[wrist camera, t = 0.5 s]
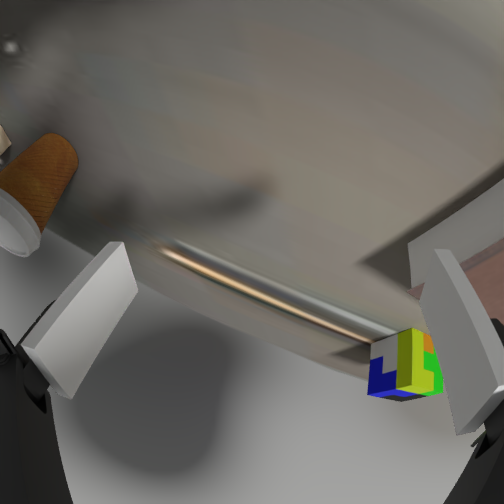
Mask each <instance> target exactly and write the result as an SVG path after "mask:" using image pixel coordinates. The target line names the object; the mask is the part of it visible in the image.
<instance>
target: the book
mask: <svg viewBox="0 0 504 504" xmlns="http://www.w3.org/2000/svg"><path fill="white" fill-rule="evenodd" d="M434 249H448V250H450V251H451V252H452V254H453V256H454V257H455V259H456V260H457V262H458V263H459V265H460V267H461V268H462V270H463V272H464V273H465V275H466V277H467V278H468V280H469V282H470V283H471V285H472V287H473V289H474V290H475V292H476V294H477V296H478V297H479V299H480V301H481V303H482V305H483V307H484V308H485V310H486V312H487V314H488V316H489V318H490V319H492V318H497V319H498V320H499V321H500V322H501V323H502V324H503V325H504V179H502V180H501V181H499V182H498V183H497V184H495V185H494V186H493V187H491V188H490V189H488V190H487V191H486V192H484V193H483V194H481V195H480V196H479V197H477V198H476V199H474V200H473V201H471V202H470V203H469V204H467V205H466V206H464V207H463V208H461V209H460V210H458V211H457V212H455V213H454V214H452V215H451V216H449V217H448V218H447V219H445V220H443V221H442V222H440V223H439V224H437V225H436V226H434V227H433V228H431V229H430V230H428V231H427V232H425V233H424V234H422V235H420V236H419V237H417V238H416V239H414V240H413V241H411V242H409V243H408V252H409V261H410V271H411V287H412V288H411V289H409V290H408V291H406V292H407V293H409V294H410V295H412V296H414V297H415V298H417V299H419V300H420V297H421V294H422V291H423V287H424V284H425V281H426V277H427V274H428V270H429V266H430V263H431V259H432V255H433V251H434Z"/></svg>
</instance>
